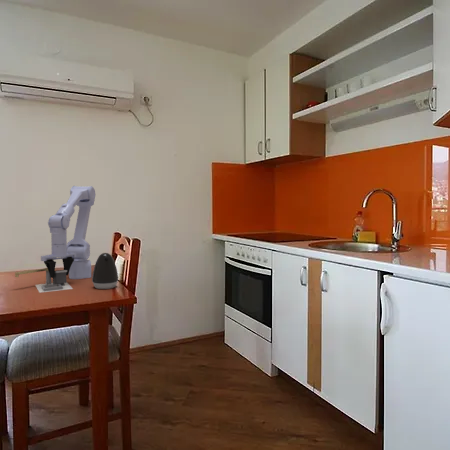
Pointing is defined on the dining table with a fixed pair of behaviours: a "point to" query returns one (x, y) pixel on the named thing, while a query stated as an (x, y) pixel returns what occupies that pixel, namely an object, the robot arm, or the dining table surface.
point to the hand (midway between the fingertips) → (59, 276)
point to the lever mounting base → (51, 285)
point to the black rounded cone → (105, 272)
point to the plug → (60, 277)
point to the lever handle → (29, 271)
